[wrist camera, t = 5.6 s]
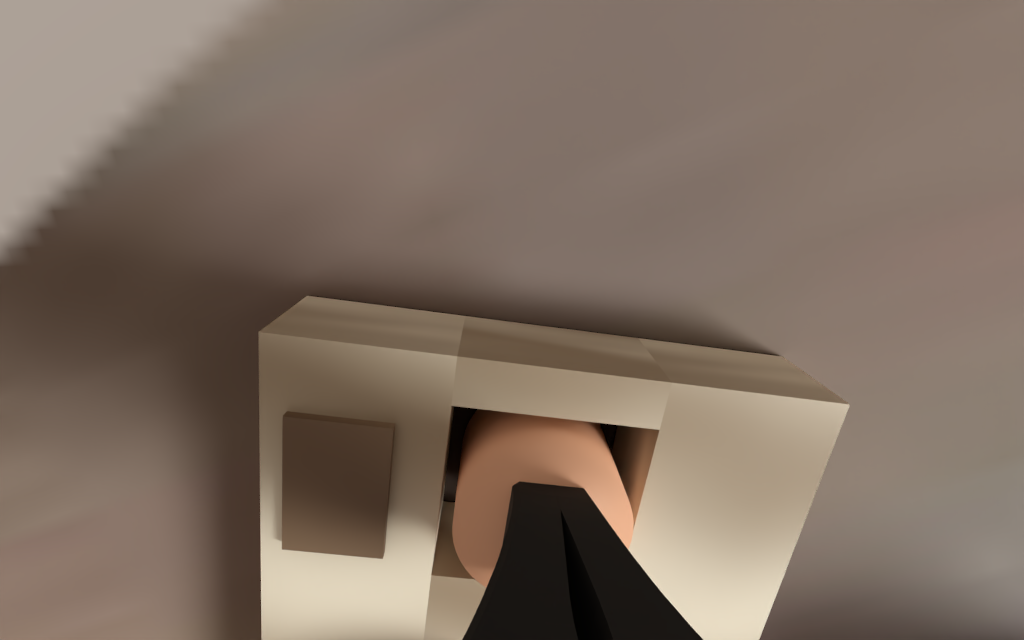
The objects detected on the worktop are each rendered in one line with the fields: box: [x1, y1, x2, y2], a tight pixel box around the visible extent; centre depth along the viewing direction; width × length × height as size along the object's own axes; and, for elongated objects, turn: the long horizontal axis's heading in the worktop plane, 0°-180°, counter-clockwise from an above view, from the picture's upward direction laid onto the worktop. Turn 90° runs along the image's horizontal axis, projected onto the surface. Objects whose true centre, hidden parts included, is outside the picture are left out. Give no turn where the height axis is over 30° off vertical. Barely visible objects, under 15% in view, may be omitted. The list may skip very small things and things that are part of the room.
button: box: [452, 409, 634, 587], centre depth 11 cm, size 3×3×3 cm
